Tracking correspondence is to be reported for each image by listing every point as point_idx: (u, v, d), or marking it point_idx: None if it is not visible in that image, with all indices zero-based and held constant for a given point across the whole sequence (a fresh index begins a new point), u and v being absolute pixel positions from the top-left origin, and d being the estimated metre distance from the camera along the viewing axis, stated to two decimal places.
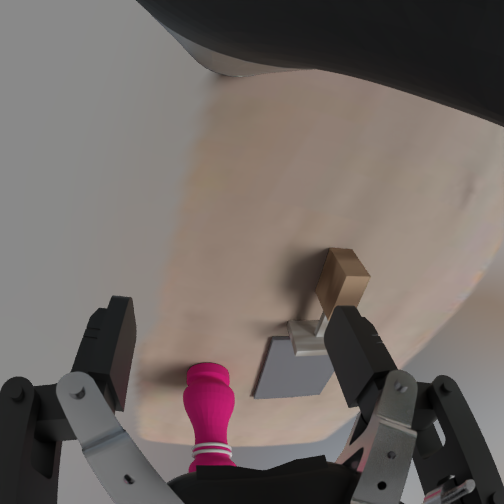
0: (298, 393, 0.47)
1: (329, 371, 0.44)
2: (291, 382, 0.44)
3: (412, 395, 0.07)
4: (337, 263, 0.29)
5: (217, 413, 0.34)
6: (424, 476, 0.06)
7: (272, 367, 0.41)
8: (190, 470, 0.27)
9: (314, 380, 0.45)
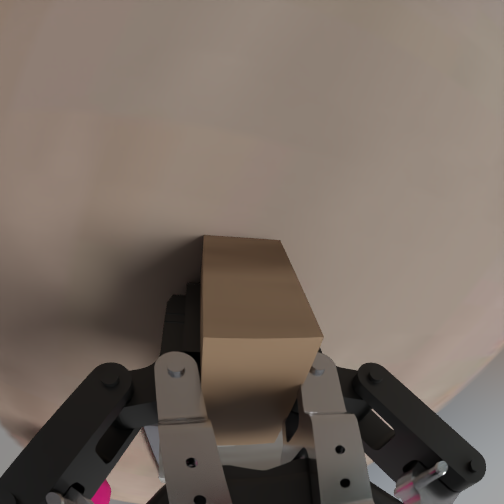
0: None
1: None
2: None
3: (327, 380, 0.08)
4: (202, 285, 0.08)
5: None
6: (384, 464, 0.07)
7: None
8: None
9: None
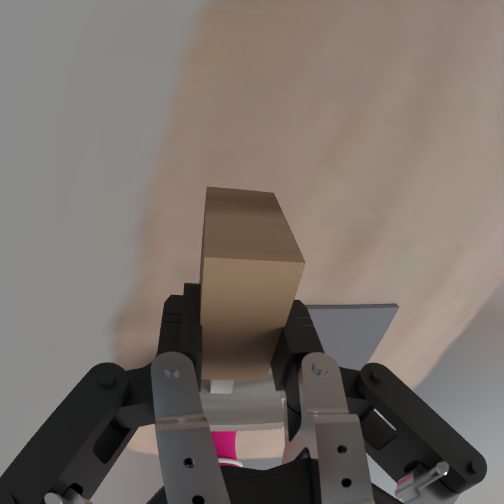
0: None
1: (365, 358, 0.34)
2: None
3: (330, 380, 0.08)
4: None
5: None
6: (386, 465, 0.07)
7: None
8: None
9: None
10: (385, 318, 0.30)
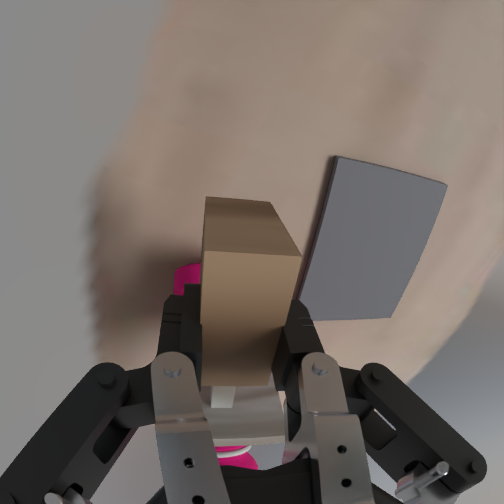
0: (362, 312, 0.29)
1: (412, 261, 0.27)
2: (357, 280, 0.27)
3: (330, 380, 0.08)
4: (204, 226, 0.10)
5: None
6: (386, 465, 0.07)
7: (332, 234, 0.24)
8: None
9: (390, 280, 0.27)
10: (434, 198, 0.23)
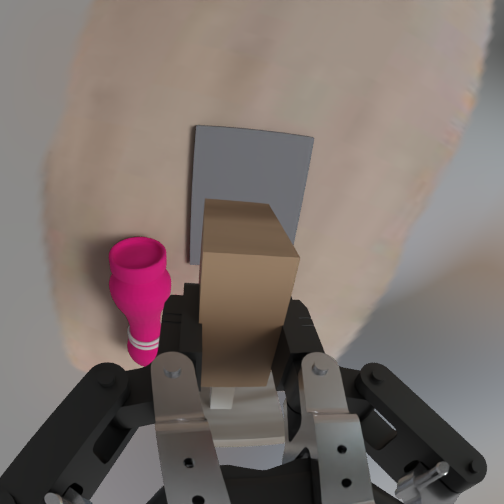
0: None
1: (293, 210, 0.33)
2: None
3: (330, 380, 0.08)
4: (203, 227, 0.10)
5: (158, 315, 0.33)
6: (386, 465, 0.07)
7: (203, 186, 0.30)
8: (135, 360, 0.36)
9: None
10: (301, 151, 0.29)
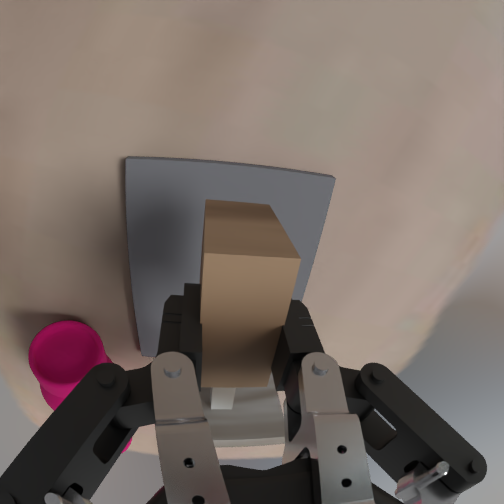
0: None
1: None
2: None
3: (330, 380, 0.08)
4: (204, 228, 0.10)
5: None
6: (386, 465, 0.07)
7: (146, 259, 0.18)
8: None
9: None
10: (311, 200, 0.17)
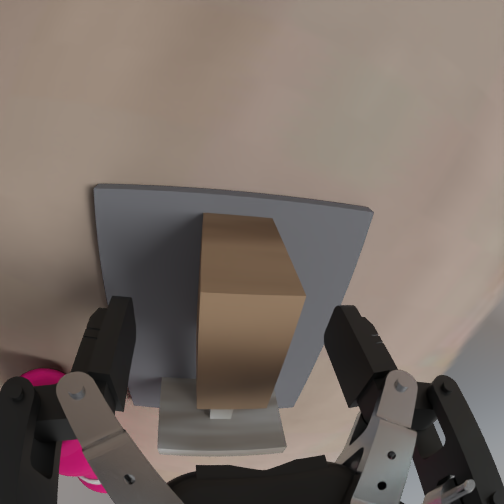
0: None
1: (310, 344, 0.17)
2: None
3: (412, 395, 0.07)
4: (201, 253, 0.09)
5: None
6: (424, 476, 0.06)
7: None
8: (86, 486, 0.19)
9: None
10: (342, 241, 0.13)
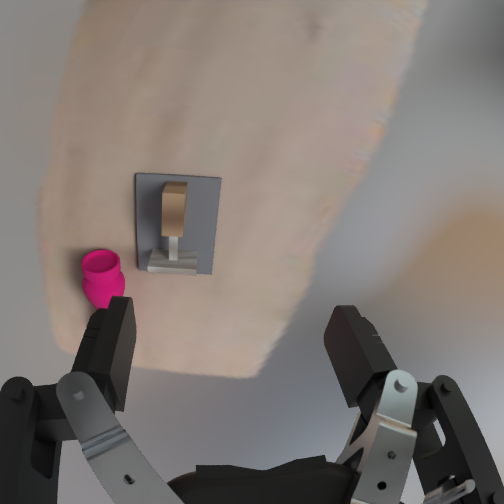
0: None
1: (209, 232, 0.44)
2: None
3: (412, 395, 0.07)
4: (164, 188, 0.37)
5: None
6: (424, 476, 0.06)
7: (144, 215, 0.41)
8: None
9: (196, 245, 0.45)
10: (211, 189, 0.41)
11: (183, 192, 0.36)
